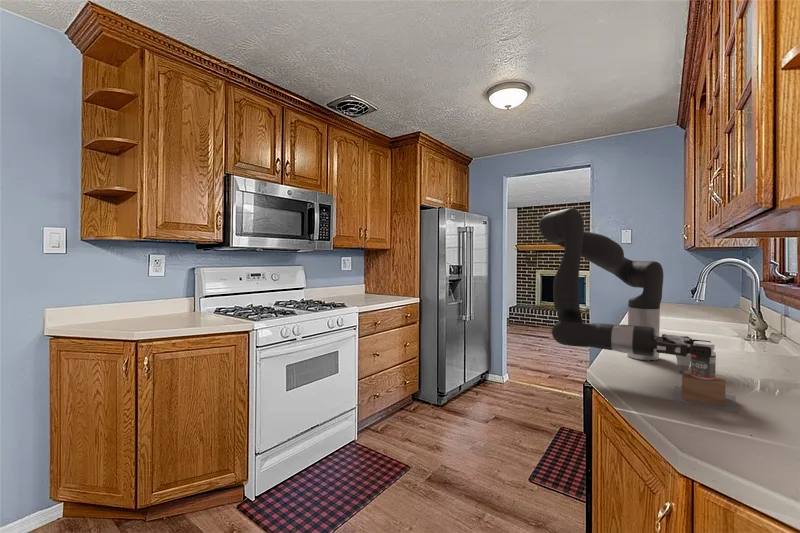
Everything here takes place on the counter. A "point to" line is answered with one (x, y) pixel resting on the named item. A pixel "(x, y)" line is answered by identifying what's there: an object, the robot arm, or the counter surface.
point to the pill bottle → (703, 363)
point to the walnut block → (703, 389)
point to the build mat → (729, 403)
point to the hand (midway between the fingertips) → (711, 348)
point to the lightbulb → (683, 363)
